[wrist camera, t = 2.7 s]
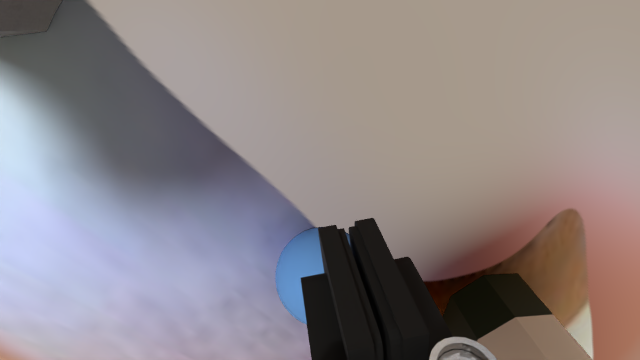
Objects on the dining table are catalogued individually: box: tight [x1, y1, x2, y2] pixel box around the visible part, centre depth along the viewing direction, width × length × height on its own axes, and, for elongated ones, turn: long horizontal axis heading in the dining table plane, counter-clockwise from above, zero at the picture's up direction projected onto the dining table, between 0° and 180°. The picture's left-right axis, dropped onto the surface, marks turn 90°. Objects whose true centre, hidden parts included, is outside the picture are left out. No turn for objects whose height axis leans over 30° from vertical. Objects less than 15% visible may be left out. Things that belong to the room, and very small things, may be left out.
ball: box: [276, 227, 350, 324], centre depth 22 cm, size 6×6×6 cm
